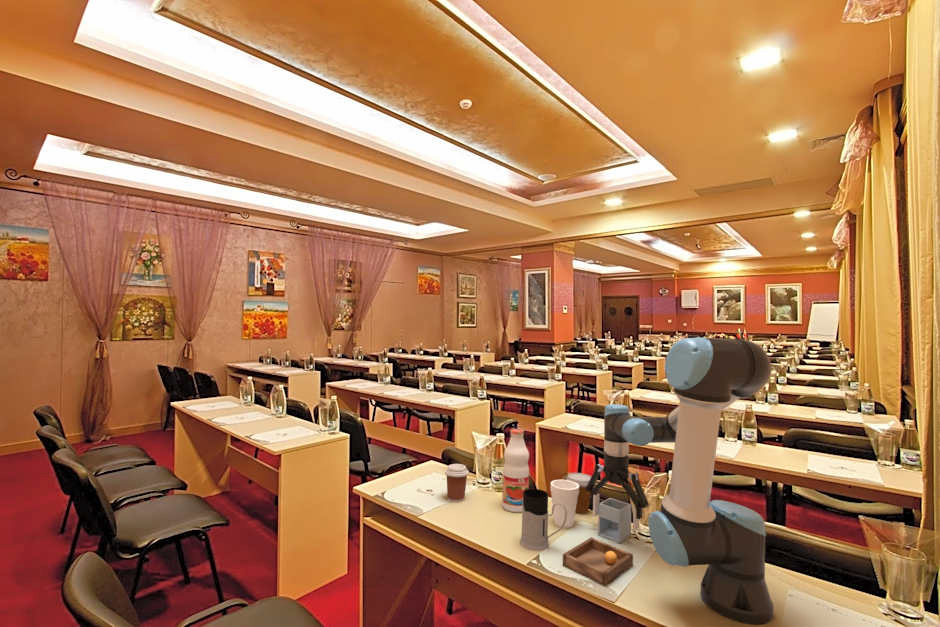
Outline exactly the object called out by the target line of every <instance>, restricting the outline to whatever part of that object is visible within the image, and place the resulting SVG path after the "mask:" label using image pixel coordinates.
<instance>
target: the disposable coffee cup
mask: <svg viewBox="0 0 940 627" xmlns="http://www.w3.org/2000/svg"><path fill="white" fill-rule="evenodd" d="M591 477H592V475H589V474H587V473H581V472H571V473H569V474H567V477H566V480H569V481H573V482H575V483H577V484H578V485H579V495H578V498H577V505H576V511H575V514H579V515H581V514H583V515H584V514H587V513H589V510H590V509H589V507H590V504H591V493H590V492H589V491H586V486H587V485H588V483H589V481H590V479H591Z"/></svg>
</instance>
